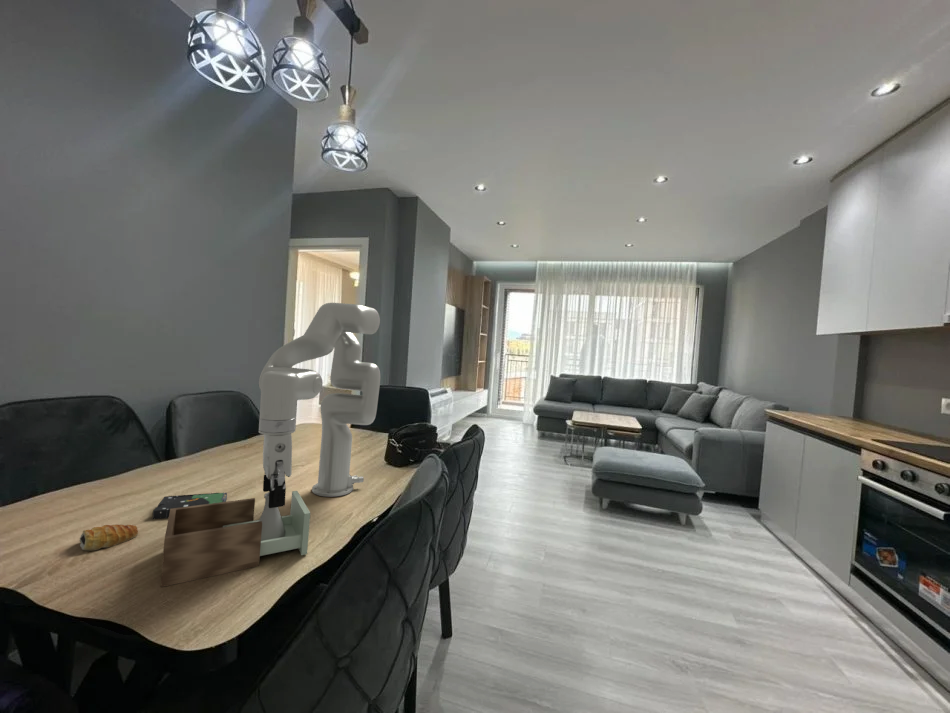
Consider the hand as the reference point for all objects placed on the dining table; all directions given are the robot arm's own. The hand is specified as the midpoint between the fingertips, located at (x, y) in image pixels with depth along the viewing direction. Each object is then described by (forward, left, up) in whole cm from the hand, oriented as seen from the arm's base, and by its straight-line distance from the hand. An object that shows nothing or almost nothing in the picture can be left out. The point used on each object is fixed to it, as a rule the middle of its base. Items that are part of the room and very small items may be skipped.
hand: (273, 498), depth 89 cm
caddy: (+11, +1, -11) cm, 16 cm away
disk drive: (+15, -30, -12) cm, 35 cm away
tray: (+1, +1, -11) cm, 11 cm away
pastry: (+30, -16, -11) cm, 36 cm away
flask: (0, +1, -9) cm, 9 cm away
